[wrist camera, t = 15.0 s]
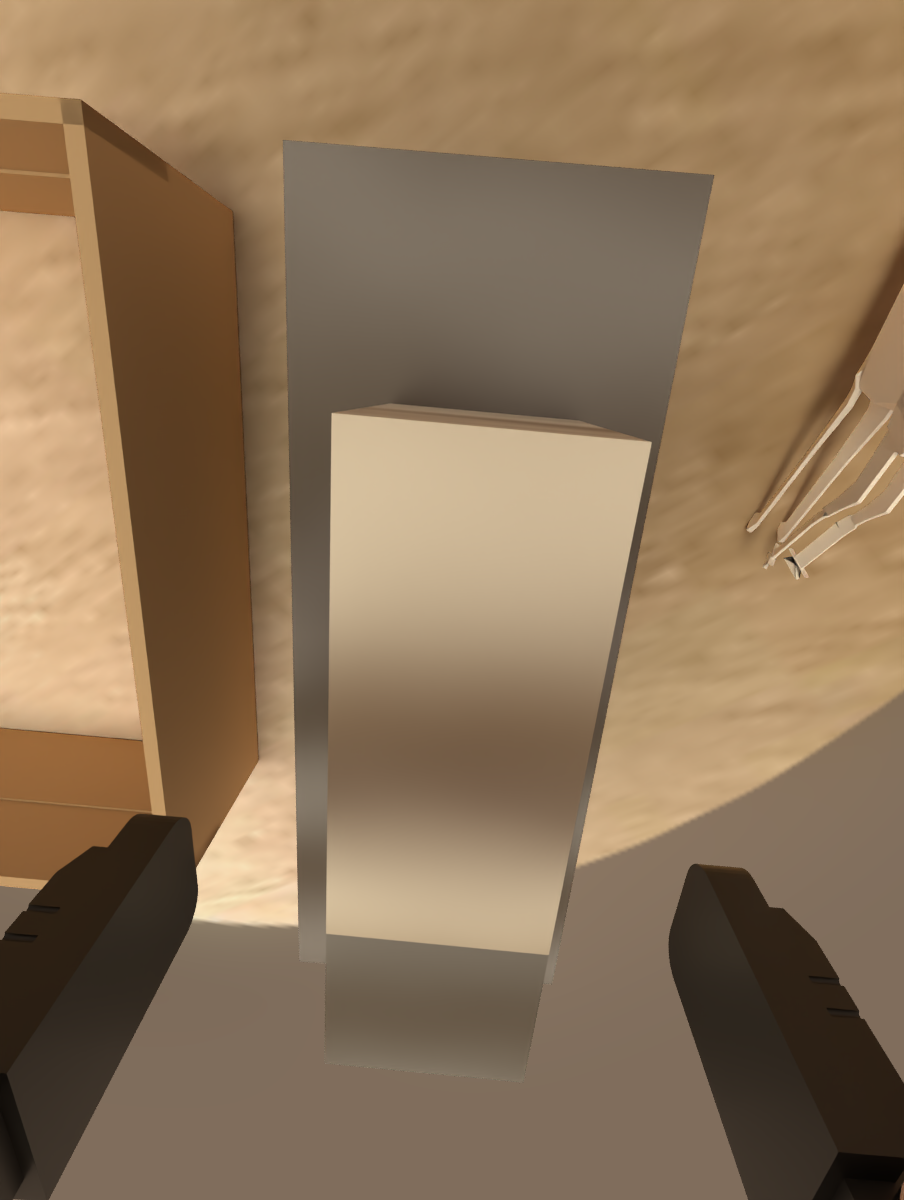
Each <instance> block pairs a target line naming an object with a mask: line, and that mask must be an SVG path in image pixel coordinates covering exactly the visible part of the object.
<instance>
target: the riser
mask: <svg viewBox="0 0 904 1200" xmlns="http://www.w3.org/2000/svg"><path fill="white" fill-rule="evenodd" d="M283 166H284V217H285V267H286V318H287V368H288V418H289V469H290V519H291V570H292V620H293V671H294V721H295V772H296V822H297V872H298V923H299V961H304V962H314V963H315V962H316V963H325V964H326V885H327V793H328V700H329V607H330V514H331V421H332V413H334V412H341V411H347V410H353V409H359V408H365V407H372V406H378V405H384V404H390V403H392V404H403V405H414V406H425V407H436V408H447V409H458V410H469V411H480V412H491V413H502V414H513V415H524V416H534V417H545V418H556V419H567V420H578V421H582V422H585V423H589V424H592V425H595V426H599V427H602V428H606V429H609V430H612V431H616V432H619V433H623V434H626V435H629V436H633V437H636V438H639V439H643V440H646V441H650V442H652V444H651V449H650V454H649V459H648V464H647V469H646V474H645V479H644V484H643V489H642V494H641V499H640V504H639V509H638V514H637V519H636V524H635V529H634V534H633V539H632V544H631V548H630V553H629V558H628V563H627V568H626V573H625V578H624V583H623V588H622V593H621V598H620V603H619V608H618V613H617V618H616V623H615V628H614V633H613V638H612V643H611V648H610V653H609V658H608V663H607V668H606V673H605V678H604V683H603V688H602V693H601V698H600V703H599V708H598V713H597V718H596V723H595V728H594V733H593V738H592V743H591V748H590V753H589V758H588V763H587V768H586V773H585V778H584V783H583V788H582V793H581V798H580V803H579V807H578V812H577V817H576V822H575V827H574V832H573V837H572V842H571V847H570V852H569V857H568V862H567V867H566V872H565V877H564V882H563V887H562V892H561V897H560V902H559V907H558V912H557V917H556V922H555V927H554V932H553V937H552V942H551V947H550V952H549V957H548V962H547V967H546V972H545V977H544V982H543V984H552V981H553V977H554V972H555V967H556V962H557V957H558V952H559V947H560V942H561V937H562V932H563V927H564V922H565V917H566V912H567V907H568V902H569V897H570V892H571V887H572V882H573V877H574V872H575V867H576V862H577V857H578V852H579V847H580V842H581V837H582V832H583V827H584V822H585V817H586V812H587V807H588V803H589V798H590V793H591V788H592V783H593V778H594V773H595V768H596V763H597V758H598V753H599V748H600V743H601V738H602V733H603V728H604V723H605V718H606V713H607V708H608V703H609V698H610V693H611V688H612V683H613V678H614V673H615V668H616V663H617V658H618V653H619V648H620V643H621V638H622V633H623V628H624V623H625V618H626V613H627V608H628V603H629V598H630V593H631V588H632V583H633V578H634V573H635V568H636V563H637V558H638V553H639V548H640V543H641V538H642V533H643V528H644V523H645V518H646V513H647V508H648V503H649V498H650V493H651V488H652V483H653V478H654V473H655V468H656V463H657V458H658V453H659V448H660V443H661V438H662V433H663V428H664V423H665V418H666V413H667V408H668V403H669V398H670V393H671V388H672V383H673V378H674V373H675V368H676V363H677V358H678V353H679V348H680V343H681V338H682V333H683V328H684V323H685V318H686V313H687V308H688V303H689V298H690V293H691V288H692V283H693V278H694V273H695V268H696V263H697V258H698V254H699V249H700V244H701V239H702V234H703V229H704V224H705V219H706V214H707V209H708V204H709V199H710V194H711V189H712V184H713V179H714V175H707V174H694V173H682V172H670V171H658V170H645V169H633V168H621V167H609V166H596V165H584V164H572V163H560V162H547V161H535V160H523V159H511V158H498V157H486V156H474V155H462V154H449V153H437V152H425V151H413V150H400V149H388V148H376V147H364V146H351V145H339V144H327V143H315V142H302V141H290V140H283Z"/></svg>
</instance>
